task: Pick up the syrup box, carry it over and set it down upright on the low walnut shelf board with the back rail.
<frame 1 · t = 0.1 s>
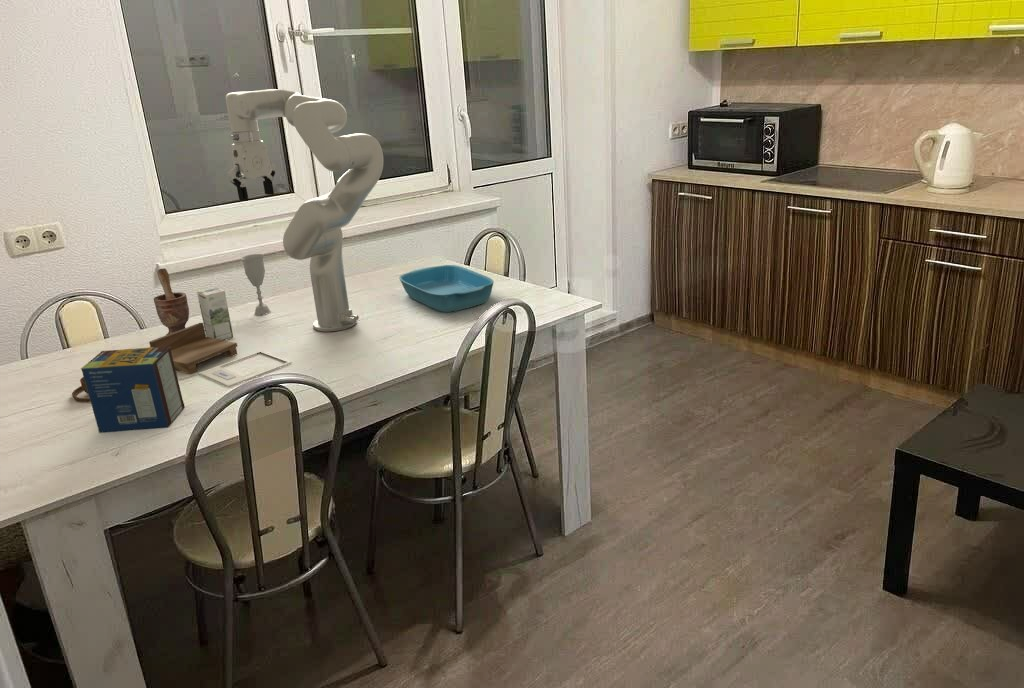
hand: (257, 197, 224), 37 cm above the table, tool pointing down, fingers open, 9 cm apart
place setting: (117, 389, 191), on the table
photo frame: (246, 371, 197), on the table
syrup box: (220, 339, 220), on the table
shelf: (197, 359, 205), on the table
casserole dish: (447, 299, 244), on the table
mortar and pestle: (177, 338, 223), on the table
protein box: (143, 421, 172), on the table
chalice: (262, 313, 241), on the table
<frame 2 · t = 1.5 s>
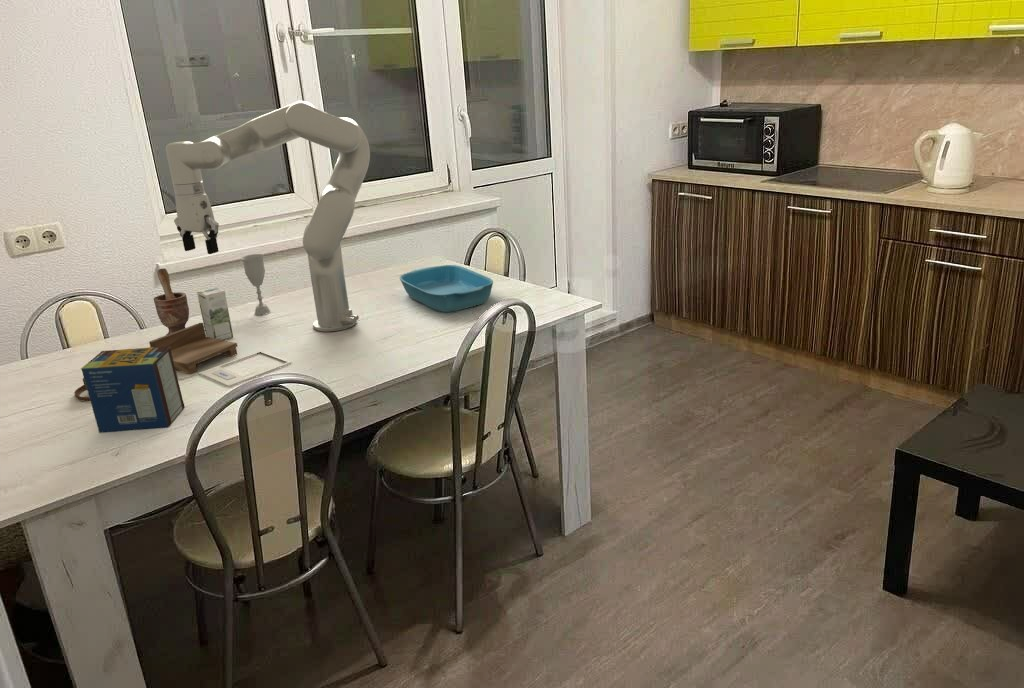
hand: (201, 251, 211), 26 cm above the table, tool pointing down, fingers open, 9 cm apart
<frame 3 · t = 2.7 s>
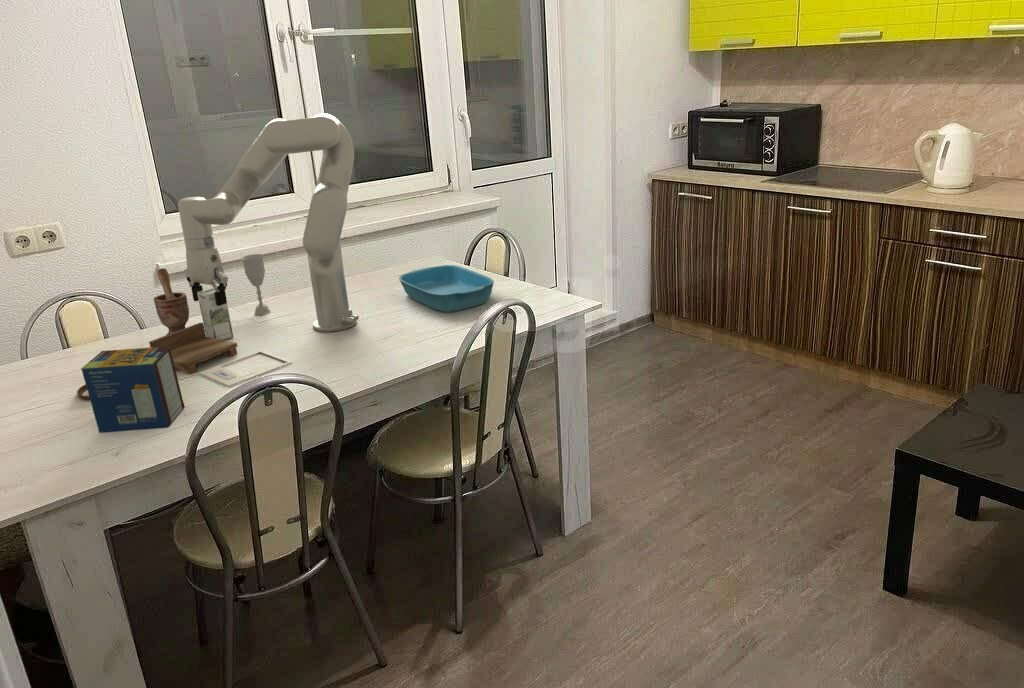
hand: (210, 302, 216), 11 cm above the table, tool pointing down, fingers open, 9 cm apart
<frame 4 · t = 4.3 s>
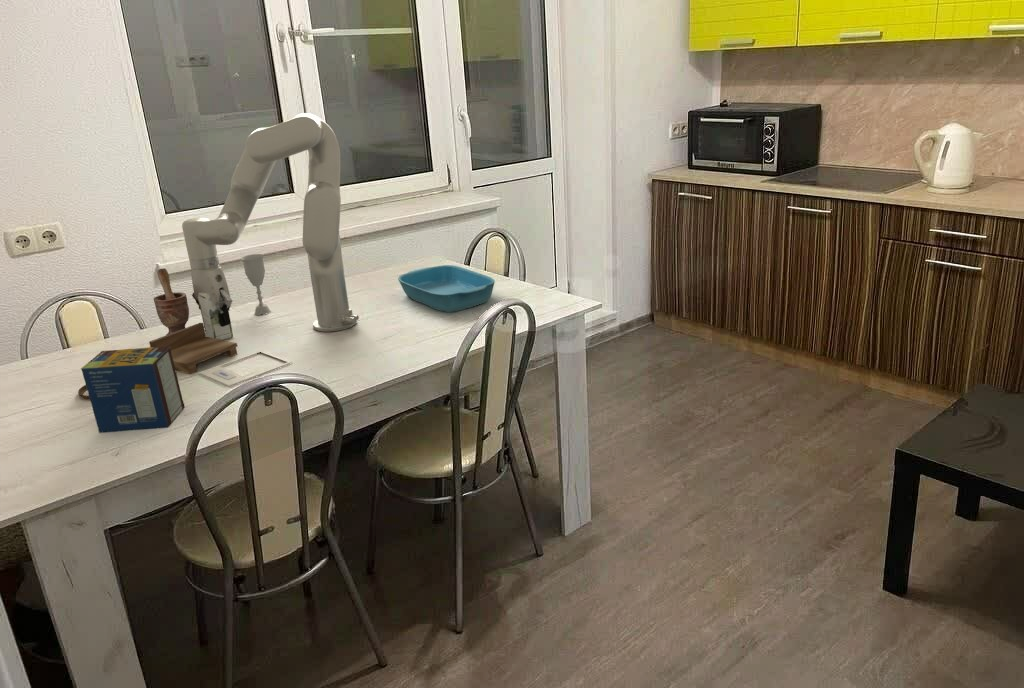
hand: (217, 323, 219), 5 cm above the table, tool pointing down, fingers closed on syrup box, 6 cm apart
syrup box: (220, 339, 220), on the table, touching gripper
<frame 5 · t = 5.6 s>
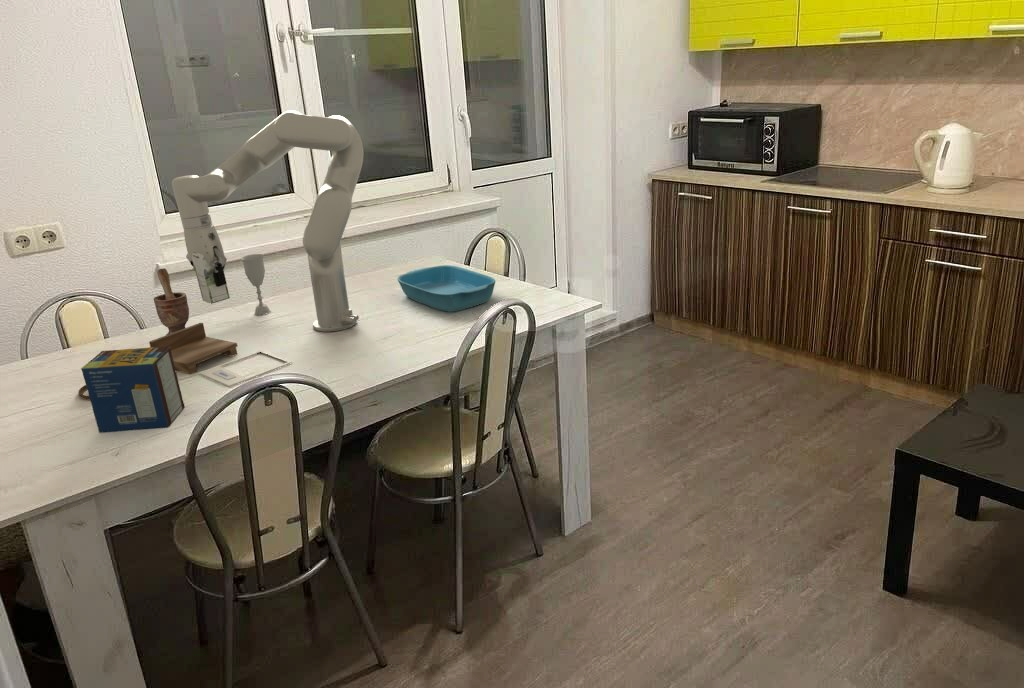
hand: (212, 283, 215), 16 cm above the table, tool pointing down, fingers closed on syrup box, 6 cm apart
syrup box: (217, 300, 216), point 11 cm above the table, touching gripper
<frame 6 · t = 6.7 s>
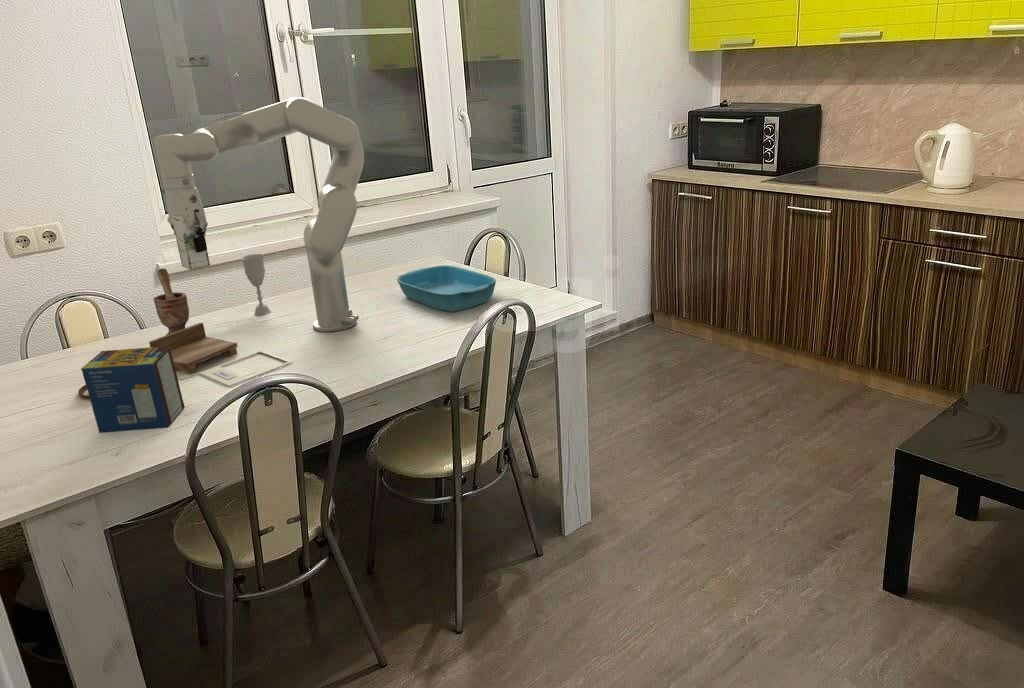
hand: (193, 249, 205), 28 cm above the table, tool pointing down, fingers closed on syrup box, 6 cm apart
syrup box: (196, 267, 207), point 23 cm above the table, touching gripper
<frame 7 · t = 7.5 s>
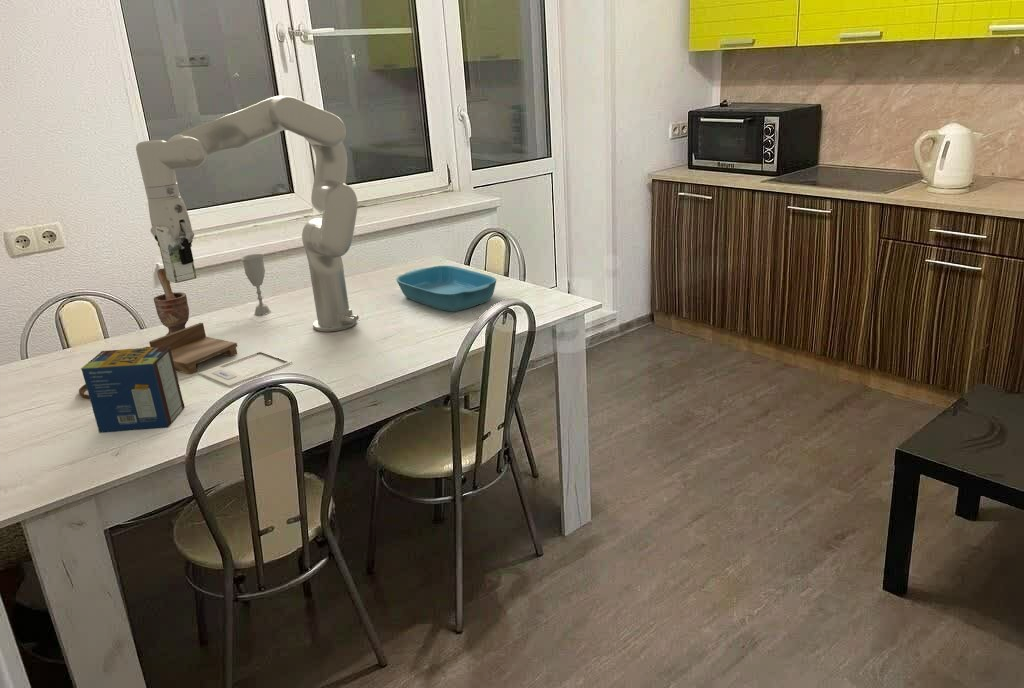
hand: (178, 261, 195), 27 cm above the table, tool pointing down, fingers closed on syrup box, 6 cm apart
syrup box: (182, 280, 197), point 22 cm above the table, touching gripper
when the fingers open (9 cm above the table, at t = 11.8 s): syrup box stays where it is, resting on shelf.
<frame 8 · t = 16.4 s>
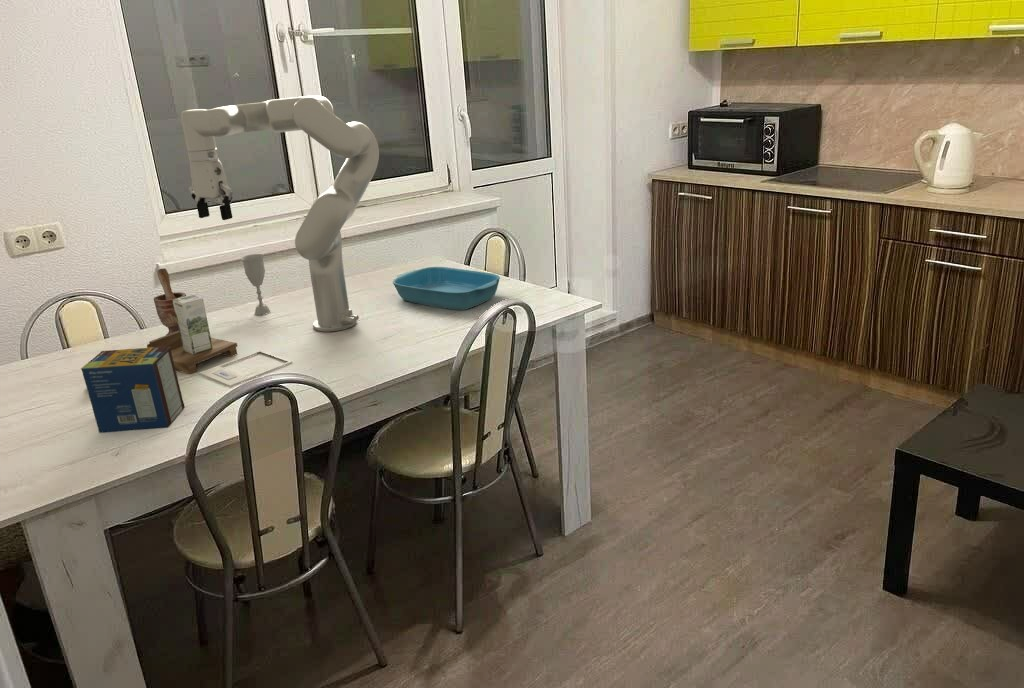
hand: (215, 218, 216), 33 cm above the table, tool pointing down, fingers open, 9 cm apart
place setting: (131, 382, 195), on the table
syrup box: (198, 350, 204), point 3 cm above the table, touching shelf
at the end: syrup box inside the target area on the shelf (1.2 cm from its centre), point 2.8 cm above the shelf's base; syrup box tilted 0°; the gripper is holding nothing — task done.
